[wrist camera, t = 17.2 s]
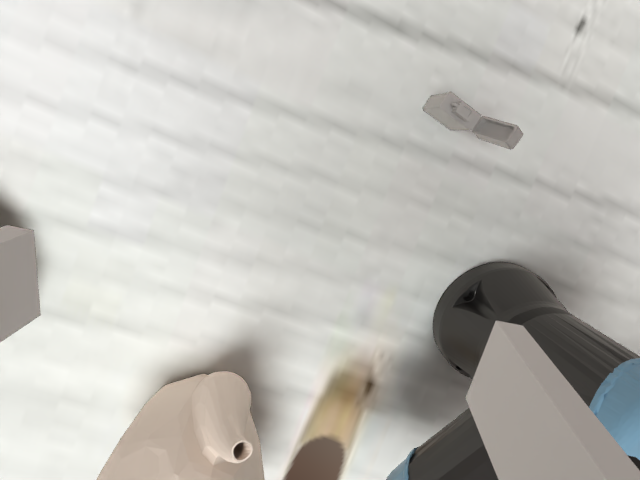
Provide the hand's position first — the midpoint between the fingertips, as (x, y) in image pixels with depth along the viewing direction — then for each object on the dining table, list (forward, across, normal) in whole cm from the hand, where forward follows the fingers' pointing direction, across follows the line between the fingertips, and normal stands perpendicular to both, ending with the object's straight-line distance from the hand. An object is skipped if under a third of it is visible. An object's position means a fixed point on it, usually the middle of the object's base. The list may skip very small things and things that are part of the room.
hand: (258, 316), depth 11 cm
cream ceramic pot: (+27, -9, -31) cm, 42 cm away
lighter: (+34, +13, +7) cm, 37 cm away
